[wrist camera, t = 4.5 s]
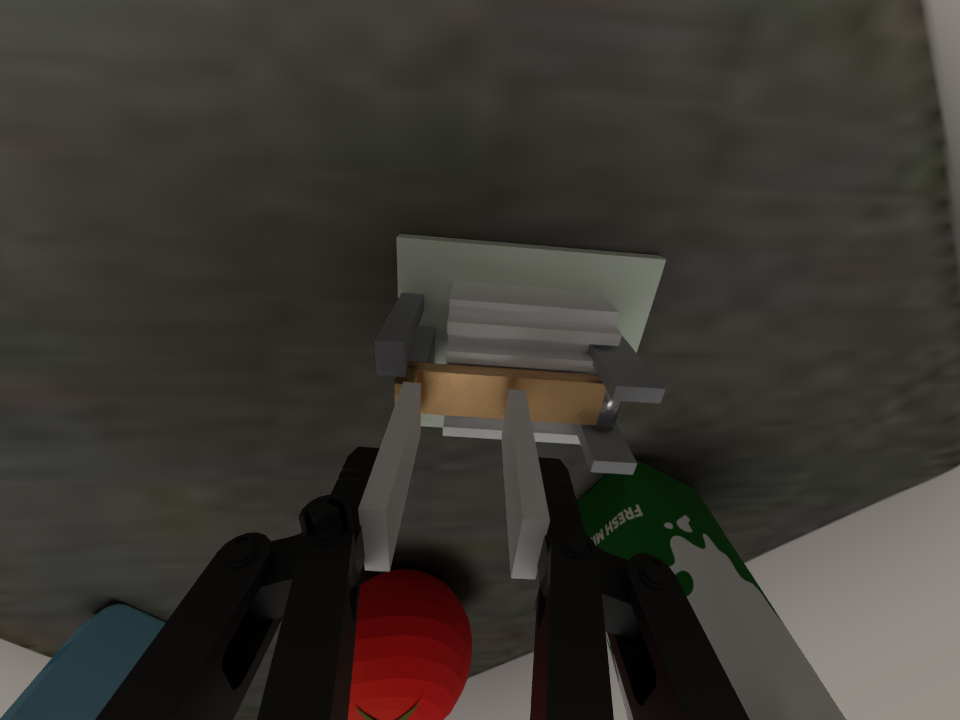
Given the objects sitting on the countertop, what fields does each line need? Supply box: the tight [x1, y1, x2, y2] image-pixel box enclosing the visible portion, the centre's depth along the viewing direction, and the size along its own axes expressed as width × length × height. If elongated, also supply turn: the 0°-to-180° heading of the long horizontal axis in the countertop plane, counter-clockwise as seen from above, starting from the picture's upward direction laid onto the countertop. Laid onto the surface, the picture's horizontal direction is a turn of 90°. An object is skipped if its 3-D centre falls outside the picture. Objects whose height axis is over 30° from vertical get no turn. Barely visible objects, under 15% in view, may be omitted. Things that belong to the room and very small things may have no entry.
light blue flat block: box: [0, 604, 166, 720], centre depth 33 cm, size 12×4×12 cm, turn 39°
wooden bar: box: [394, 361, 622, 432], centre depth 17 cm, size 11×3×2 cm, turn 85°
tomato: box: [348, 569, 472, 720], centre depth 30 cm, size 11×12×10 cm
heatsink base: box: [374, 234, 666, 475], centre depth 19 cm, size 14×12×8 cm
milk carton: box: [577, 459, 846, 720], centre depth 21 cm, size 9×9×20 cm
